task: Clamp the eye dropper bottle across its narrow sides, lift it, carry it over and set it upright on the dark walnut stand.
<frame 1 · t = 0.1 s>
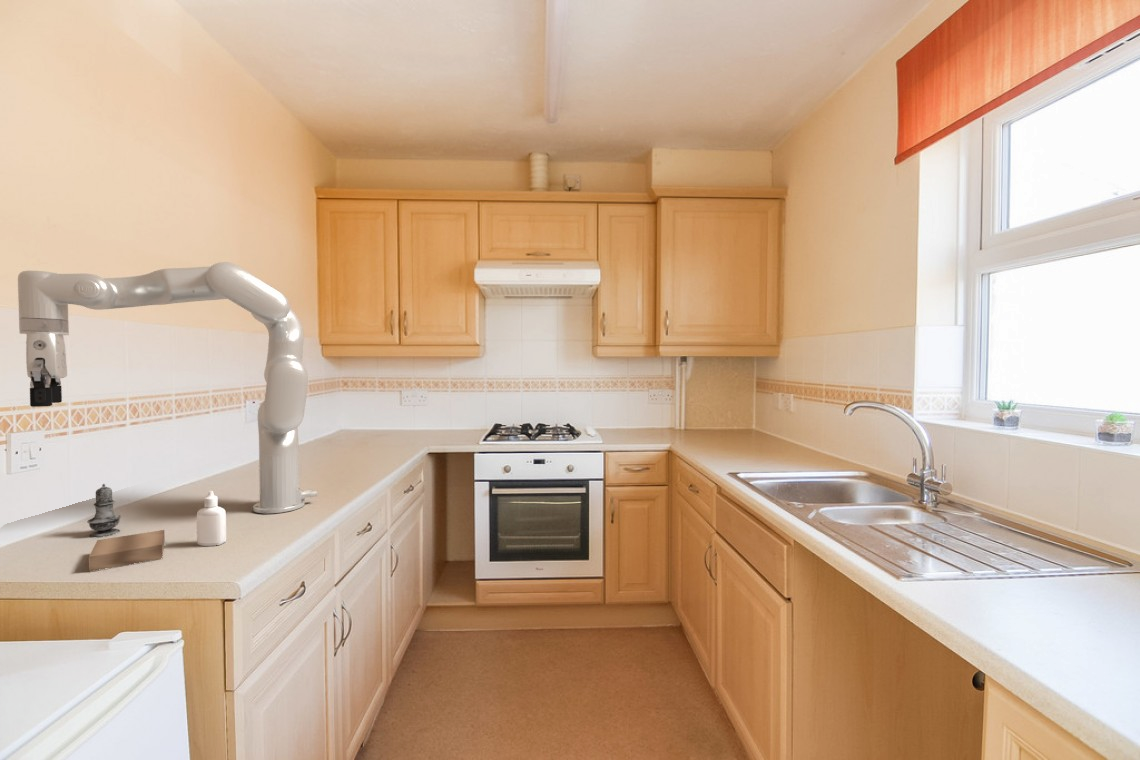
hand: (46, 404, 110), 31 cm above the worktop, tool pointing down, fingers open, 9 cm apart
walnut stand: (129, 556, 103), on the worktop
eye dropper bottle: (211, 544, 111), on the worktop
salt shaker: (104, 534, 116), on the worktop
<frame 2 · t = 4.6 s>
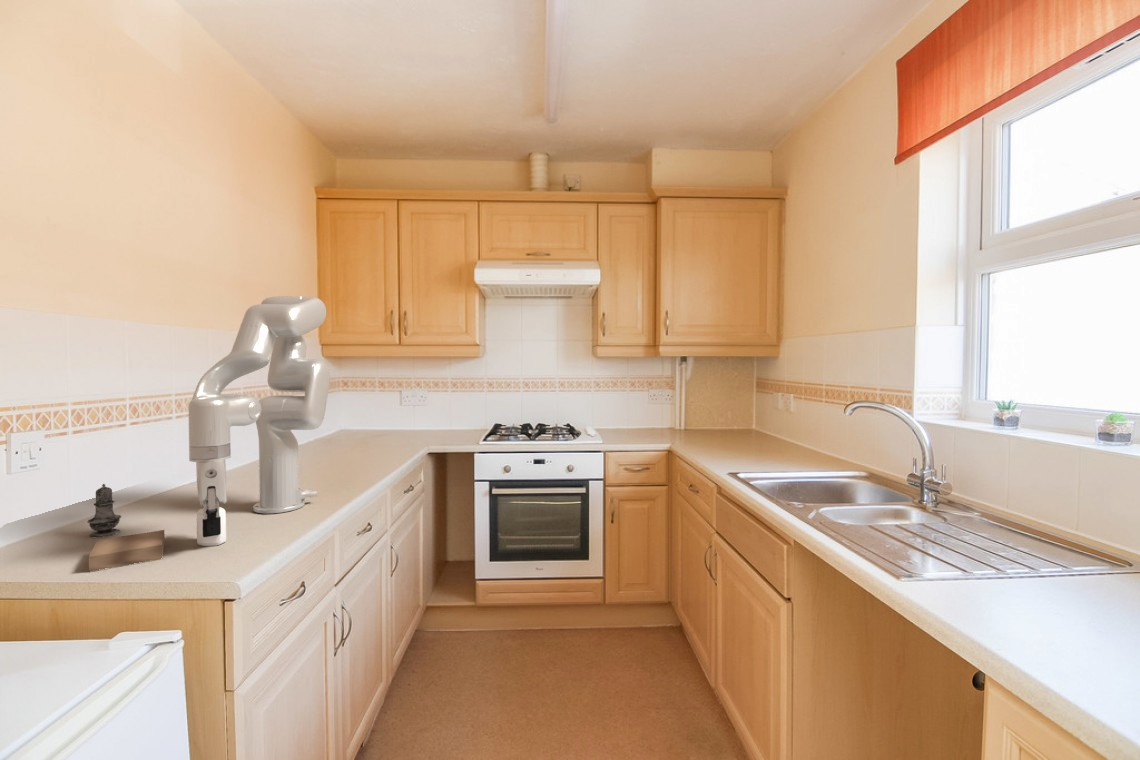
hand: (211, 531, 111), 3 cm above the worktop, tool pointing down, fingers closed on eye dropper bottle, 4 cm apart
eye dropper bottle: (211, 544, 111), on the worktop, touching gripper
everything else where it was.
when the fingers open (7 cm above the worktop, at t = 10.7 s): eye dropper bottle drops 1 cm, resting on walnut stand.
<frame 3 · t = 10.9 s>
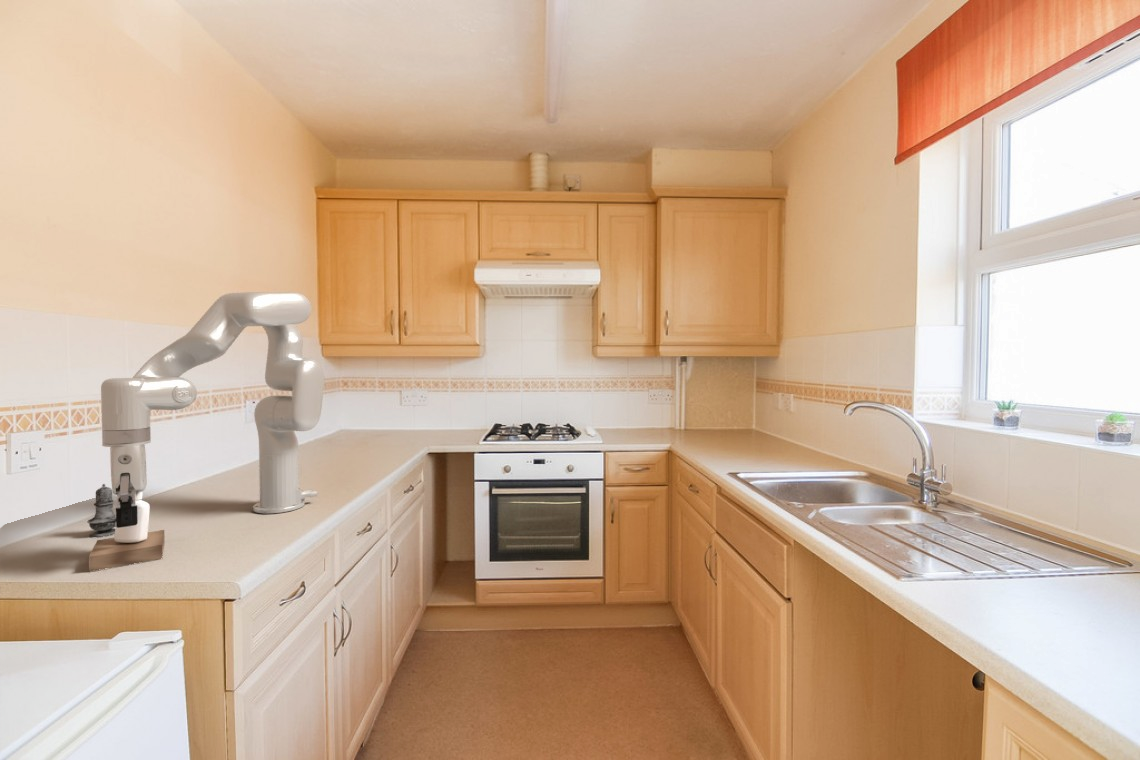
hand: (129, 520, 103), 8 cm above the worktop, tool pointing down, fingers open, 6 cm apart
eye dropper bottle: (130, 541, 104), point 3 cm above the worktop, touching walnut stand
everything else where it was.
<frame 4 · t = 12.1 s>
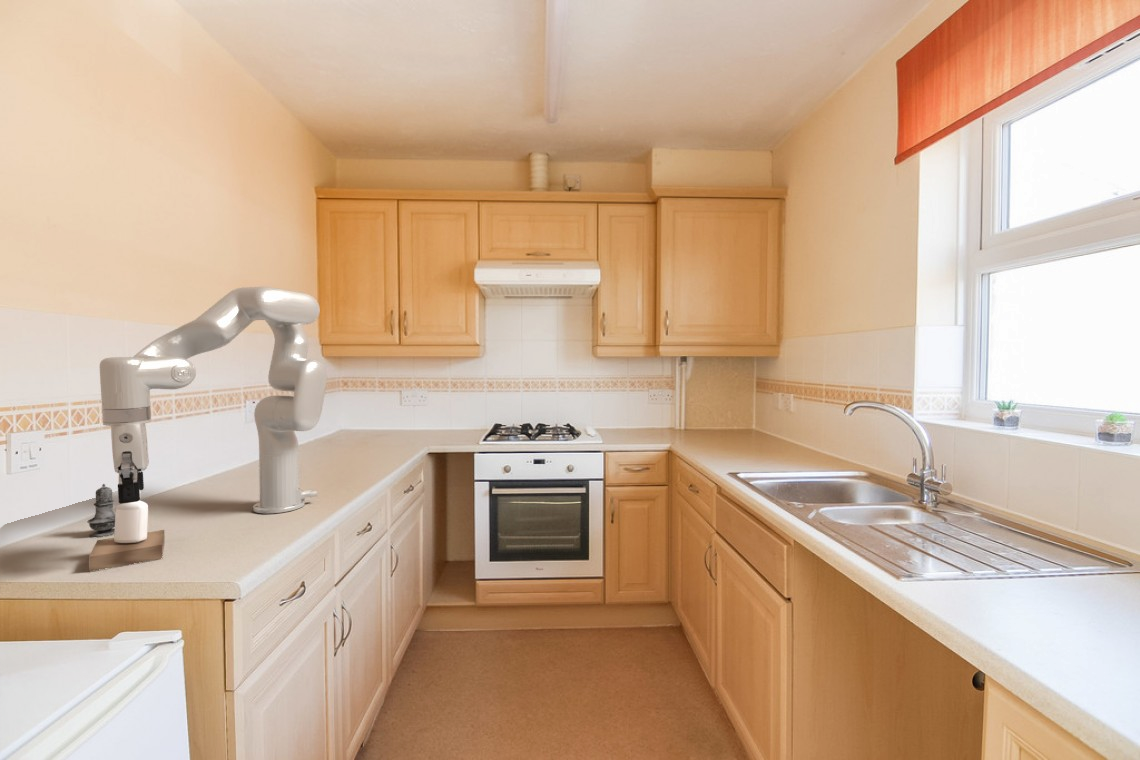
hand: (131, 496, 104), 13 cm above the worktop, tool pointing down, fingers open, 9 cm apart
nothing on the worktop moved.
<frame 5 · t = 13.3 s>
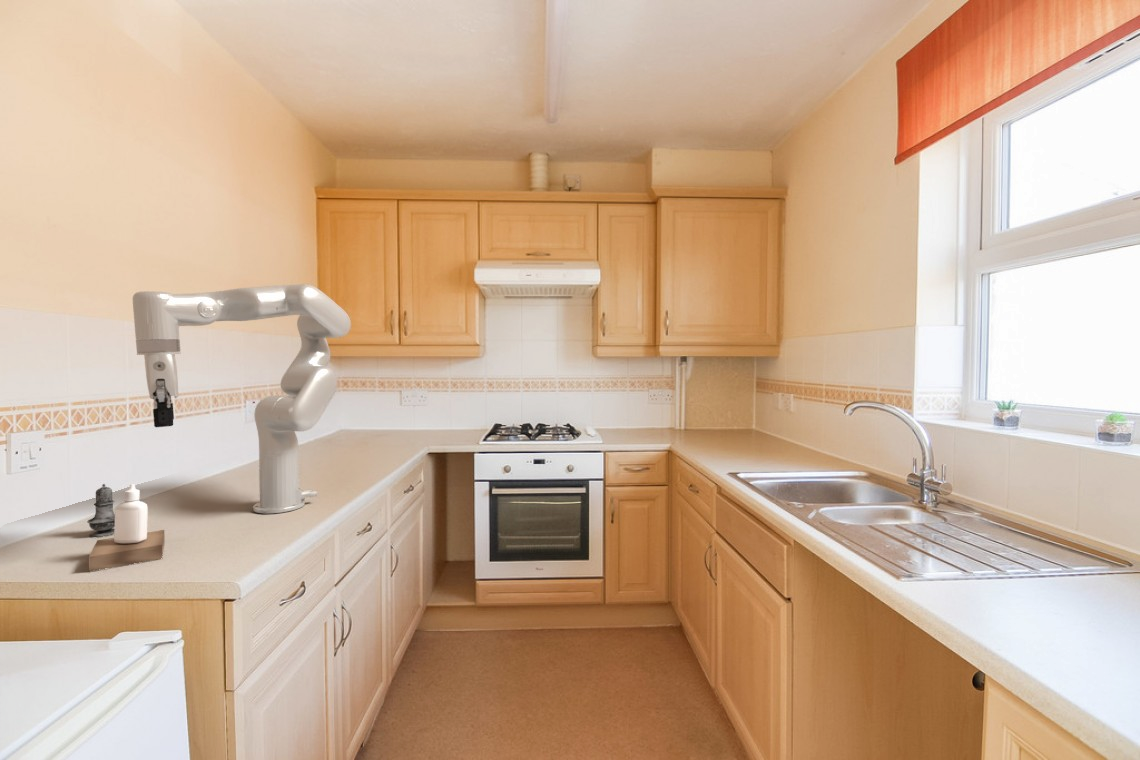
hand: (164, 423, 111), 27 cm above the worktop, tool pointing down, fingers open, 9 cm apart
nothing on the worktop moved.
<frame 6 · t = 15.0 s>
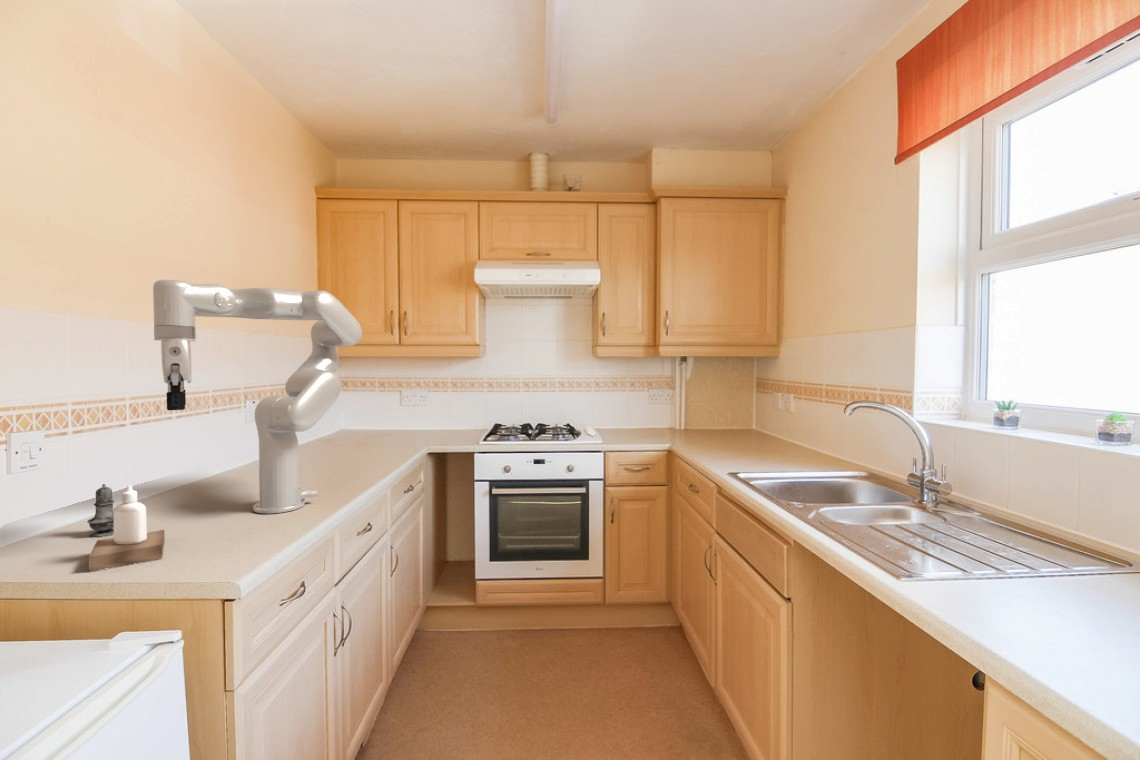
hand: (176, 408, 114), 30 cm above the worktop, tool pointing down, fingers open, 9 cm apart
nothing on the worktop moved.
at the end: eye dropper bottle inside the target area on the walnut stand (0.3 cm from its centre), point 2.8 cm above the walnut stand's base; eye dropper bottle tilted 0°; the gripper is holding nothing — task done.
